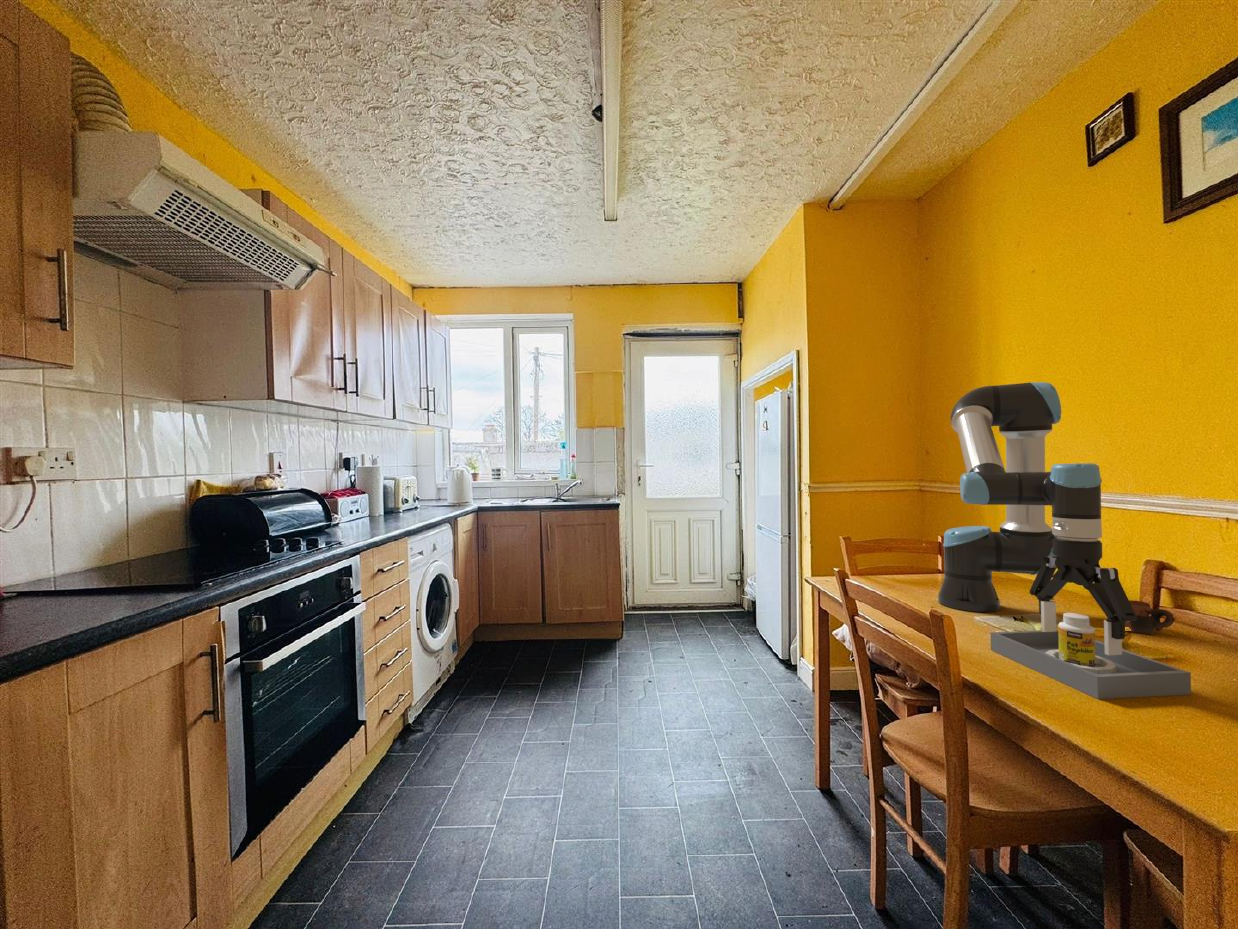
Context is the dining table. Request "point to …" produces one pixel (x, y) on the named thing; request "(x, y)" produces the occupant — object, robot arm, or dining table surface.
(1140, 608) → the pottery mug
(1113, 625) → the robot arm
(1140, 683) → the grey tray
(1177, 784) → the dining table surface
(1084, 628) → the supplement bottle
